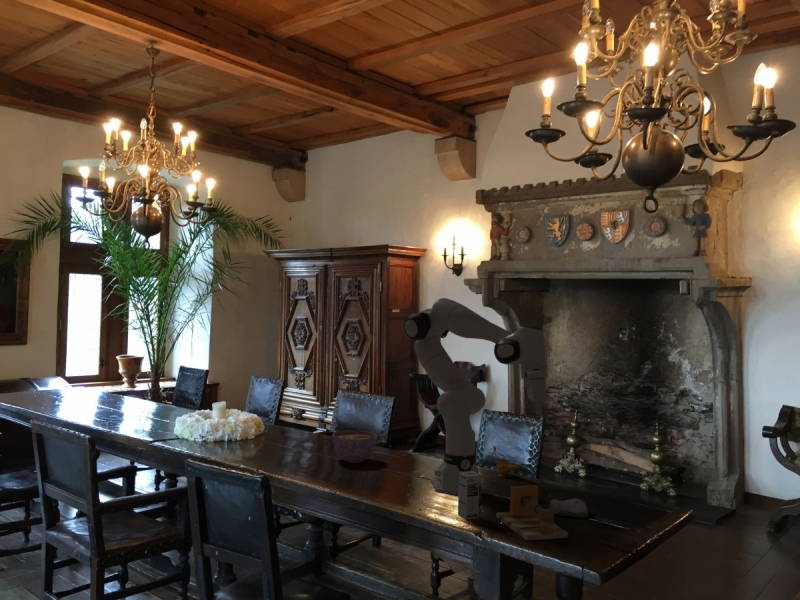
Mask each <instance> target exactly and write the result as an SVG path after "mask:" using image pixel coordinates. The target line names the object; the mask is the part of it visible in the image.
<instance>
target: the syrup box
mask: <svg viewBox="0 0 800 600" xmlns="http://www.w3.org/2000/svg"><path fill="white" fill-rule="evenodd" d="M482 475H483V474H481V473H480V472H479V473H477V472H474V471H472V472H459V485H458V498H457V515H458V516H459V517H460V518H462V519H463V520H465V521H469V520H476V519H481V517H482V490H481V486H482V479H483V478H482Z"/></svg>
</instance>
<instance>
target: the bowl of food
mask: <svg viewBox="0 0 800 600" xmlns="http://www.w3.org/2000/svg"><path fill="white" fill-rule="evenodd" d="M331 435H332V441H333V445H334V449H335V454H336V455H337V457H338V458H340V459H341V460H343V461H344V462H346V463H350V464H359V463H363V462H364V461H366V460H368V459H369V458H371V457H372V454H373V453H374V449H375V446H376V443H377V439H378V434H377V433H374V432H372V431H366V430H365V431H364V430H342V431H334V432H332V434H331Z"/></svg>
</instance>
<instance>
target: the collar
mask: <svg viewBox="0 0 800 600" xmlns="http://www.w3.org/2000/svg"><path fill="white" fill-rule="evenodd" d="M521 496H525V497H527V498H528V499H530V500H531V501H533V502H535V503H536V504H538V505H539V486H538V485H536V484H533V485H531V484H529V485H513V486H512V485H511V486H510V496H509V497H510V501H509V512H510V514H511V515H512V516H518V515H535V514H537V513H535V512H534V511H533V510H531V509H530V508H528V507H527V506H525V505H521Z"/></svg>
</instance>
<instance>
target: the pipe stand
mask: <svg viewBox="0 0 800 600" xmlns="http://www.w3.org/2000/svg"><path fill="white" fill-rule="evenodd" d="M521 505H525V506H527V507H528V508H530V509H531V510H533V511H534V512H535V513H537V514H535V515H518V516H512V515H511V514H510V511H503V512H501V511H500V512H496V518H497V519H498V520H499V521H501V522H503V524H505V525H506V526H507V527H508V528H510V529H511V530H513V532H515V533H516V534H518V535H519V536H520V537H521V538H523V539H524V540H525V541H536V540H537V541H538V540H552V539H564V538H569V532H568V531H566V530H565V529H563V527H560V526H558V525H557V524H556V523H555V514H554V510H552V509H550V508H544V507H543V506H541V505H539V503H538V504H536V503H535V502H533V501H531V500H530V499H528V496H521Z"/></svg>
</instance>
